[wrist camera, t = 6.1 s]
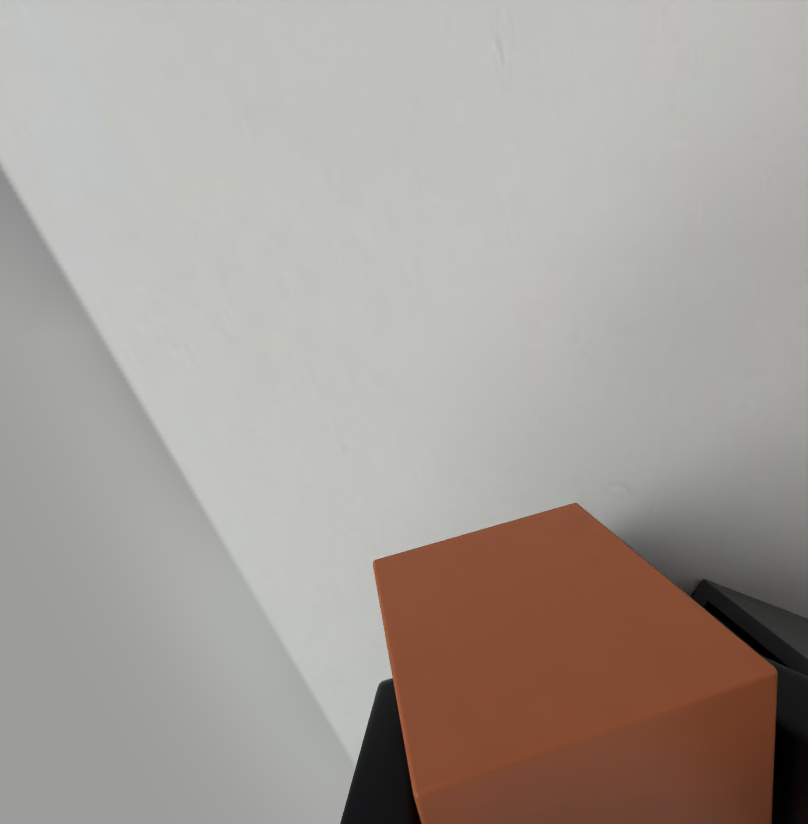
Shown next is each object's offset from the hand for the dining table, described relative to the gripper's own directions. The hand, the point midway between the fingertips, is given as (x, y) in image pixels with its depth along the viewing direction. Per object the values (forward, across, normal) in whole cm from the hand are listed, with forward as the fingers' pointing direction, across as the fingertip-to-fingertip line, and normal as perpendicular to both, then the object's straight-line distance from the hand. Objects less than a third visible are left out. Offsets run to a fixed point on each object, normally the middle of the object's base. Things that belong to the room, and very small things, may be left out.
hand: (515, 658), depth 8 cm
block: (+1, 0, 0) cm, 1 cm away
